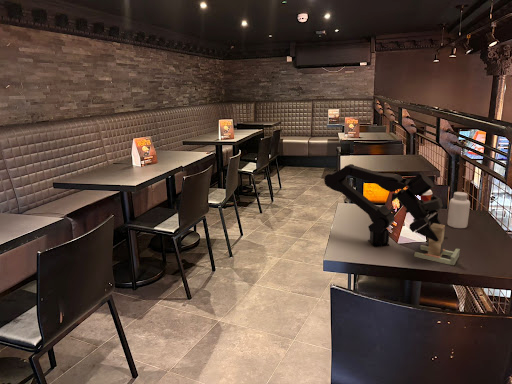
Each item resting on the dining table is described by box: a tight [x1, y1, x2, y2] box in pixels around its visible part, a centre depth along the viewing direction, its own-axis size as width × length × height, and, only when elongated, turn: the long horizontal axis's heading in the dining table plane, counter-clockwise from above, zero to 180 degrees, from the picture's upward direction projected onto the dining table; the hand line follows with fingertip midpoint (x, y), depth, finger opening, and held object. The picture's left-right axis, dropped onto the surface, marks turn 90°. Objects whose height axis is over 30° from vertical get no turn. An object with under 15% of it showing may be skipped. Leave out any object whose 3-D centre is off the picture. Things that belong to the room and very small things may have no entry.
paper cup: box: [421, 189, 433, 202], centre depth 174 cm, size 8×8×14 cm
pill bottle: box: [447, 191, 471, 229], centre depth 163 cm, size 8×8×15 cm
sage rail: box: [413, 244, 461, 266], centre depth 136 cm, size 13×8×3 cm, turn 51°
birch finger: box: [427, 223, 446, 258], centre depth 135 cm, size 4×4×12 cm
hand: (440, 236), depth 133 cm, fingers open, 9 cm apart
